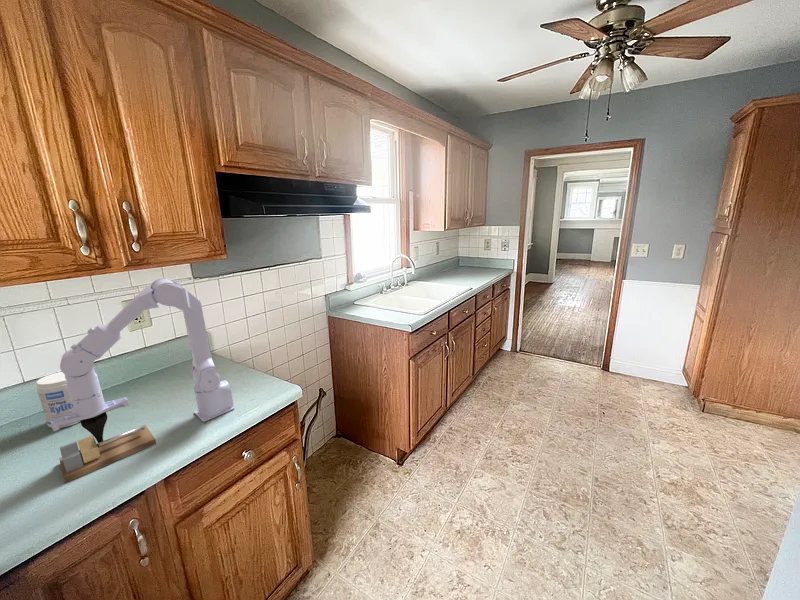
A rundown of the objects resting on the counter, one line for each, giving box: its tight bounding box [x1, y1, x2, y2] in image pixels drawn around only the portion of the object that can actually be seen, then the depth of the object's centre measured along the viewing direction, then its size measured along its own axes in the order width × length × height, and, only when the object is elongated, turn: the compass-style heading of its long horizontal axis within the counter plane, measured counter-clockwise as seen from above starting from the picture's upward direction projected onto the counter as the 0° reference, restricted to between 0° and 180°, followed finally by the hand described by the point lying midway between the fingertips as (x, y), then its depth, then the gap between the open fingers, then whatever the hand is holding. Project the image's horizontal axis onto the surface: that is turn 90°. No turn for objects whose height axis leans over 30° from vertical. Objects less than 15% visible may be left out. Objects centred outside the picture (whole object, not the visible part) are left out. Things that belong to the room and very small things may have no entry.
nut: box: [77, 434, 100, 464], centre depth 84 cm, size 3×7×3 cm, turn 49°
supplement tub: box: [35, 371, 80, 429], centre depth 100 cm, size 10×10×15 cm
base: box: [58, 424, 157, 484], centre depth 87 cm, size 18×10×5 cm, turn 139°
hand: (99, 440), depth 87 cm, fingers closed
